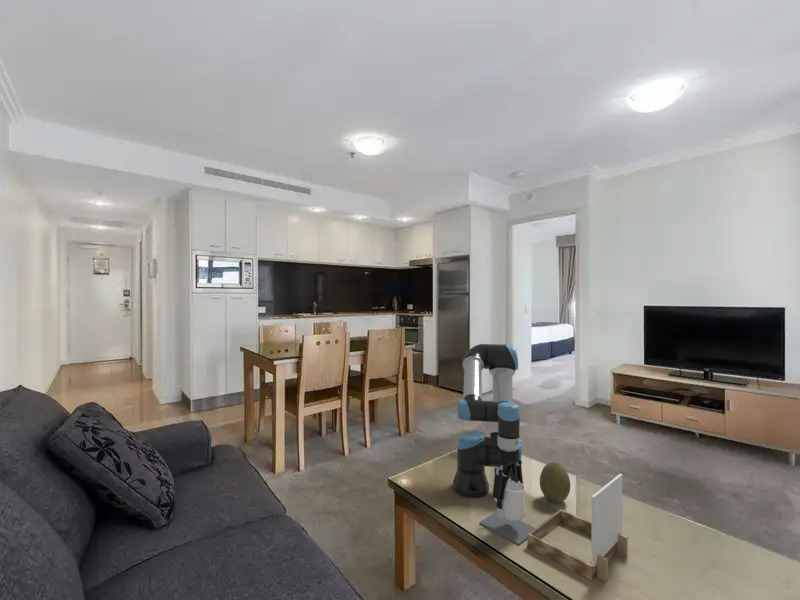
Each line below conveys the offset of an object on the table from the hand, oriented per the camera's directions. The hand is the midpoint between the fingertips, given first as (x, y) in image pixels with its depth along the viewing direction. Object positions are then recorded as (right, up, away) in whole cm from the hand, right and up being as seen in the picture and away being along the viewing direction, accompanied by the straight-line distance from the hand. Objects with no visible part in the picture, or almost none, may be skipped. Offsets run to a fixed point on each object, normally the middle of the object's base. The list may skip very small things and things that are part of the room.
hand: (508, 512), depth 135 cm
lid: (+26, -6, -19) cm, 33 cm away
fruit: (+24, -6, +18) cm, 31 cm away
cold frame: (+18, -6, -10) cm, 22 cm away
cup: (0, 0, 0) cm, 0 cm away
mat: (0, -5, 0) cm, 5 cm away
